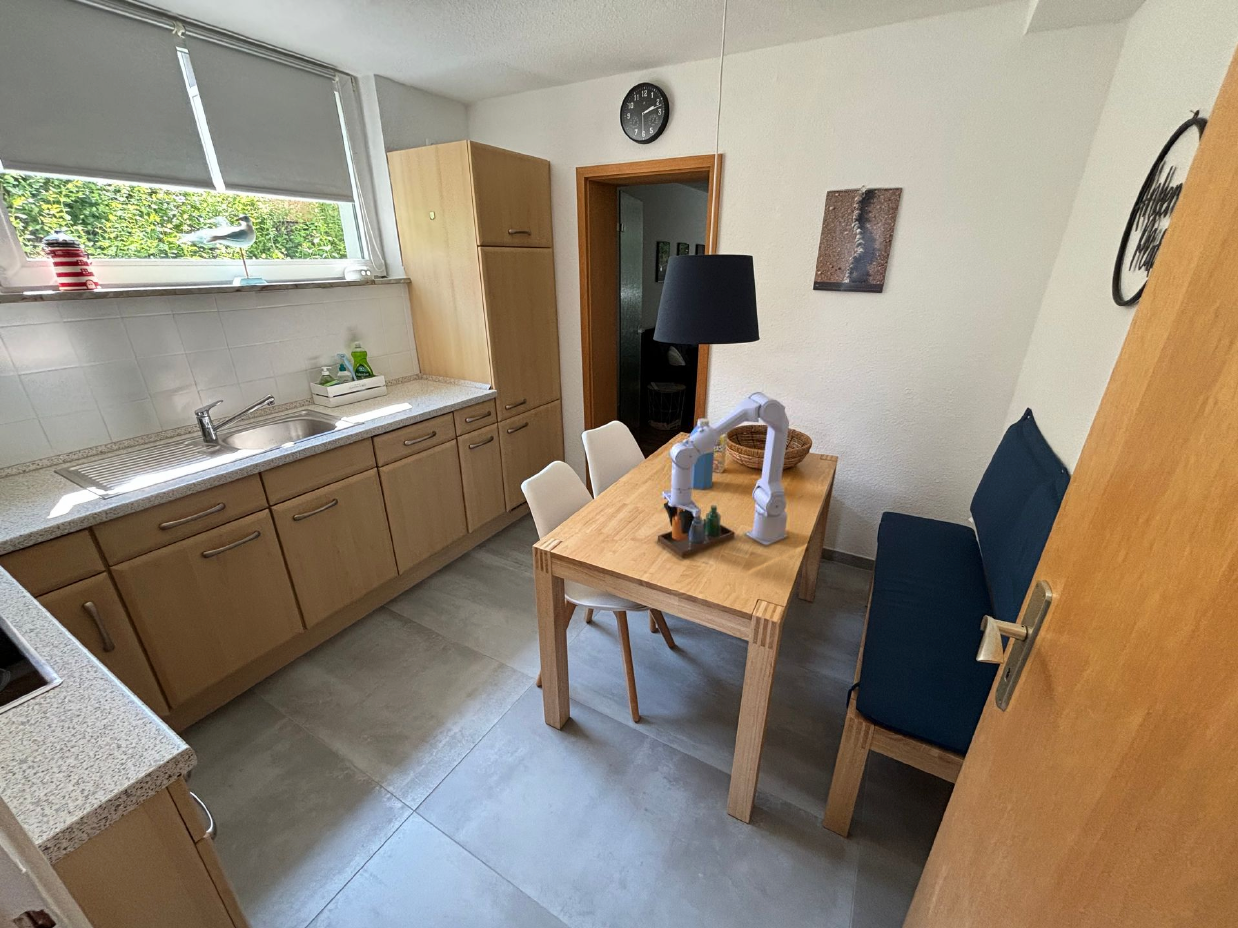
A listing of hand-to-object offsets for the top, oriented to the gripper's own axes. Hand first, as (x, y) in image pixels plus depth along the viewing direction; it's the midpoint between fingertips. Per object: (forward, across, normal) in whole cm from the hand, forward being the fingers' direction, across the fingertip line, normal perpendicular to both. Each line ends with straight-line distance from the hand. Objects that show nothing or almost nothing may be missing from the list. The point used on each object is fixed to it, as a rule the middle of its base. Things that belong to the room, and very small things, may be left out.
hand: (679, 529), depth 142 cm
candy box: (+6, -38, +49) cm, 62 cm away
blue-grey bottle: (+6, 0, +6) cm, 9 cm away
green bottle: (+6, 0, +13) cm, 14 cm away
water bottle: (+6, -30, +35) cm, 46 cm away
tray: (+6, 0, +6) cm, 9 cm away
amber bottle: (+2, 0, 0) cm, 2 cm away
